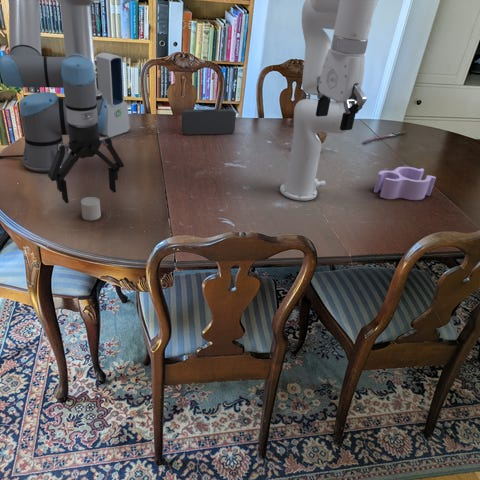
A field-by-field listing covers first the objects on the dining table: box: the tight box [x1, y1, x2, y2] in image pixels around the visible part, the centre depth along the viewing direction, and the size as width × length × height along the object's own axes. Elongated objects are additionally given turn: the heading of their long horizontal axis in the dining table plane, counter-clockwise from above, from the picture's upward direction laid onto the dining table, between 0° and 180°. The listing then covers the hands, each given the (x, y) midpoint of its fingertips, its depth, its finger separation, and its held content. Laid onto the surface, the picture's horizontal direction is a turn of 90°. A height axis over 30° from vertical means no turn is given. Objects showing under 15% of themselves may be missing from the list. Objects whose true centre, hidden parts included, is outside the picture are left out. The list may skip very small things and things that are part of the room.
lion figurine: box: [316, 132, 328, 145], centre depth 190 cm, size 15×5×9 cm, turn 110°
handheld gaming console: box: [180, 108, 237, 135], centre depth 196 cm, size 23×3×10 cm, turn 108°
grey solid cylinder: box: [80, 196, 102, 221], centre depth 133 cm, size 5×5×5 cm
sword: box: [363, 132, 408, 145], centre depth 213 cm, size 31×3×1 cm, turn 126°
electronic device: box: [95, 52, 131, 138], centre depth 181 cm, size 12×8×30 cm, turn 148°
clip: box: [373, 166, 437, 201], centre depth 164 cm, size 20×12×7 cm, turn 109°
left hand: (89, 195), depth 131 cm, fingers open, 13 cm apart
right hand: (333, 122), depth 110 cm, fingers open, 9 cm apart
